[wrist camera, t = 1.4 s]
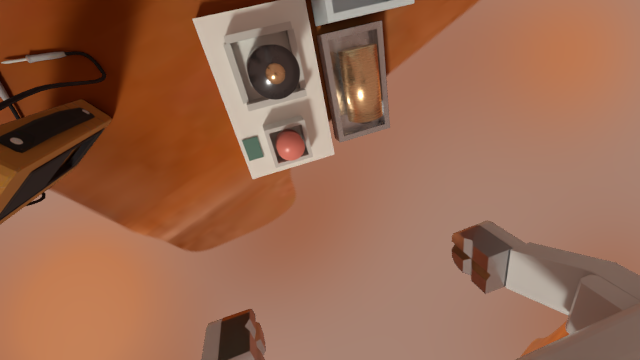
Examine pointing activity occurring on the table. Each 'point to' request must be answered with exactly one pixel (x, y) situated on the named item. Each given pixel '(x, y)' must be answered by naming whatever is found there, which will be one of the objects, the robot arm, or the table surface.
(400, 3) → the grey square open box
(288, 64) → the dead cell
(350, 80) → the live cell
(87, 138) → the multimeter
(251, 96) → the battery tester
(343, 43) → the trough
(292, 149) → the button
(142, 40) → the table surface
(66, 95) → the table surface
